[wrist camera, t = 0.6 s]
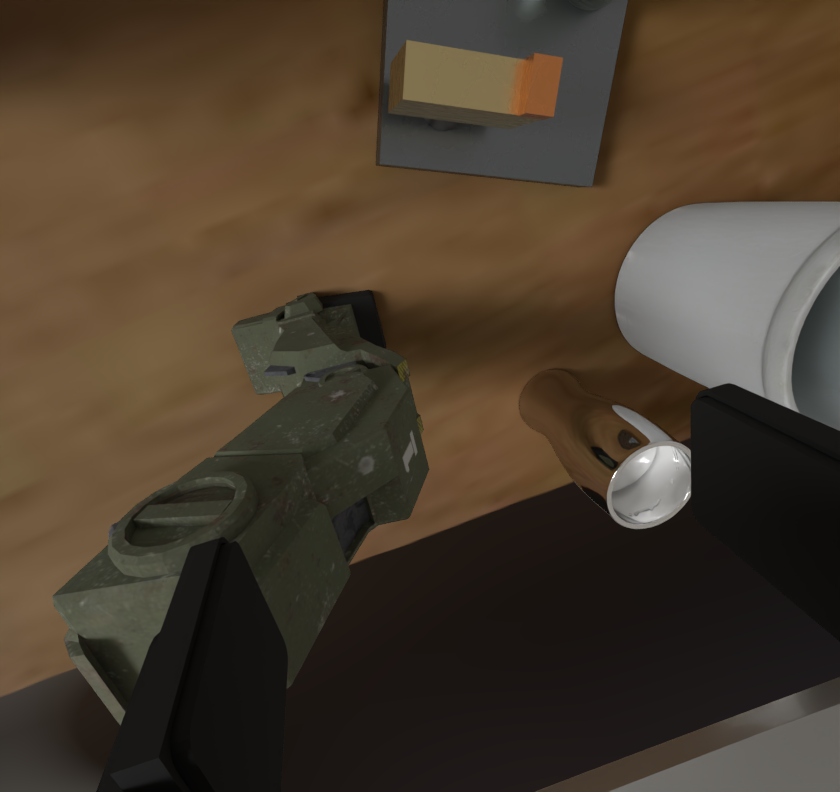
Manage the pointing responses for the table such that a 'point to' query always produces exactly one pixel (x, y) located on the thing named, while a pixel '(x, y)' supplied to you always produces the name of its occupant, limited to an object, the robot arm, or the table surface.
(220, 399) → the table surface
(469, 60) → the knob
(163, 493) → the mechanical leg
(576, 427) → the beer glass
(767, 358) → the utensil holder
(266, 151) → the table surface
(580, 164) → the level plate
